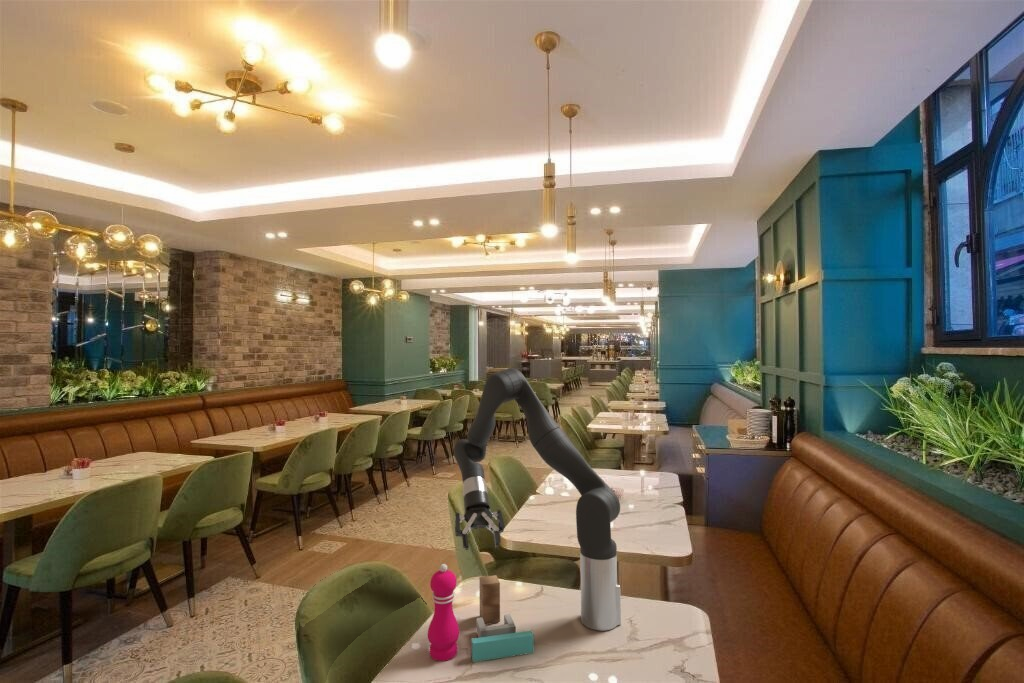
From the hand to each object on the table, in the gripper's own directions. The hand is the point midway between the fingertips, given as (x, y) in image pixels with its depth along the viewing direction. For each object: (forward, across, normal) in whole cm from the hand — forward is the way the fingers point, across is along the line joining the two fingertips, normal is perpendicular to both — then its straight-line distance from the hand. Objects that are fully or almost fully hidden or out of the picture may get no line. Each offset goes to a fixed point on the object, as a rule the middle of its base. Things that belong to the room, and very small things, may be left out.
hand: (482, 547), depth 138 cm
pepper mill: (+26, -13, -6) cm, 30 cm away
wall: (+29, 0, -9) cm, 31 cm away
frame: (+24, 0, -3) cm, 24 cm away
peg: (+18, 0, +2) cm, 18 cm away
